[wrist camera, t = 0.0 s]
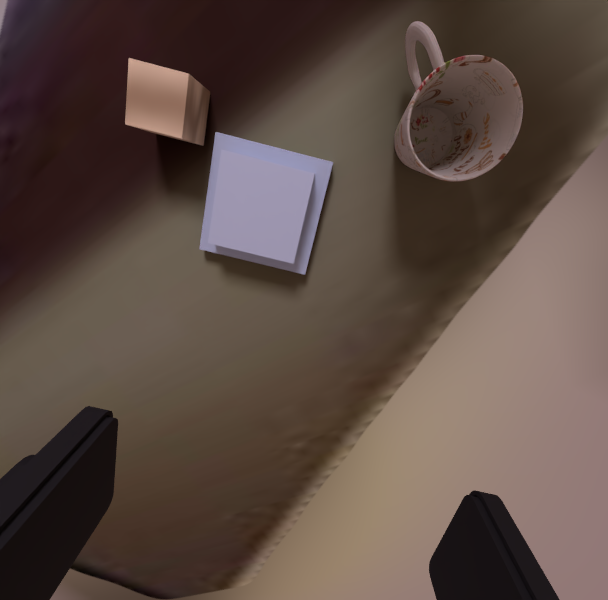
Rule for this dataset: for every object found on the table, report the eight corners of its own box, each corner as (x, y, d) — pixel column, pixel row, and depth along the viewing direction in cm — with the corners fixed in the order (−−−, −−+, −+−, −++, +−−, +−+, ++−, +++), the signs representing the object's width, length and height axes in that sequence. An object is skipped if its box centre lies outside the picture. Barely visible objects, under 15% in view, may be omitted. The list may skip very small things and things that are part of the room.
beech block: (160, 79, 33) (128, 57, 28) (210, 92, 33) (188, 73, 28) (156, 133, 35) (125, 124, 29) (203, 145, 35) (181, 138, 29)
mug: (400, 196, 36) (430, 200, 26) (351, 75, 32) (366, 30, 23) (476, 157, 34) (537, 148, 25) (434, 26, 31) (486, -43, 22)
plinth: (219, 133, 35) (207, 127, 31) (332, 163, 35) (334, 160, 31) (203, 246, 38) (191, 253, 35) (305, 271, 39) (304, 280, 35)
